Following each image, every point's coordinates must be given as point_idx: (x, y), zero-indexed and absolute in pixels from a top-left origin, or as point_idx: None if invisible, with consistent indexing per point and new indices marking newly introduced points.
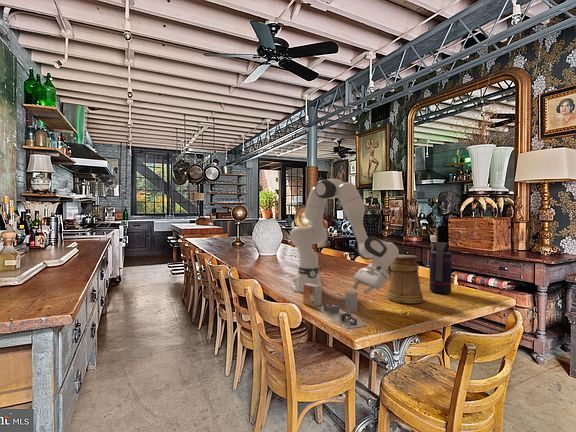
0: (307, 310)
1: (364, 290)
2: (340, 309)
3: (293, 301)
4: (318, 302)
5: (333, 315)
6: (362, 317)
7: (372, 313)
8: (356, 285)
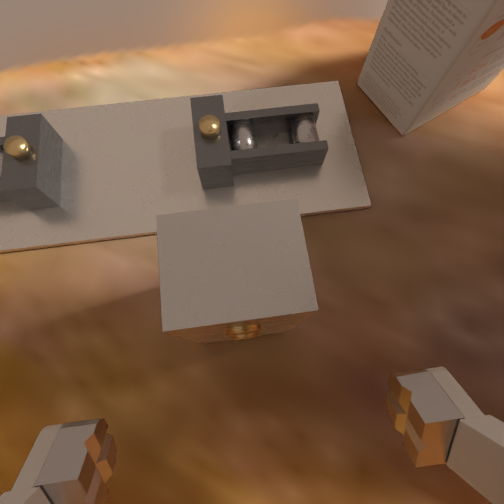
0: (294, 32)
1: (65, 444)
2: None
3: None
4: (389, 93)
5: (141, 129)
6: (50, 317)
7: None
8: (465, 458)
